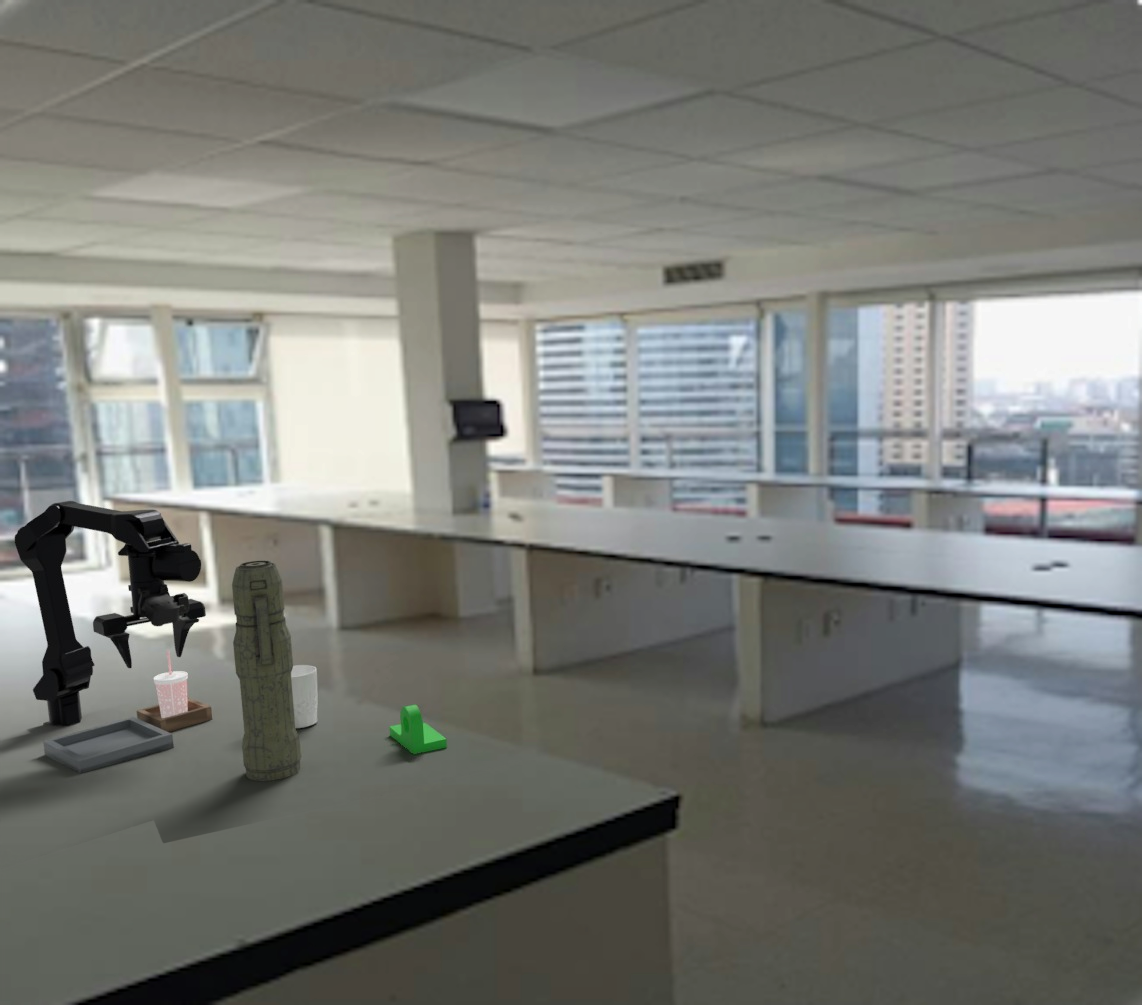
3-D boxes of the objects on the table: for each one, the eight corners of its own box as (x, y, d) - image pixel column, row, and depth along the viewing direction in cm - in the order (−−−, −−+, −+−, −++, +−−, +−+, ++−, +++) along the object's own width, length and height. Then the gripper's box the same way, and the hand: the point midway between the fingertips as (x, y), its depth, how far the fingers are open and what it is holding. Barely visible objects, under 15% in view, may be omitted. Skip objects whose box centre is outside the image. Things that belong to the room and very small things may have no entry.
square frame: (137, 723, 198) (136, 710, 198) (187, 709, 205) (186, 696, 205) (161, 733, 191) (160, 720, 191) (212, 719, 198) (211, 706, 198)
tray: (44, 754, 183) (43, 741, 183) (134, 729, 195) (133, 716, 194) (80, 775, 172) (79, 761, 172) (173, 747, 184) (172, 733, 183)
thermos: (254, 794, 161) (233, 572, 156) (239, 771, 171) (219, 561, 166) (311, 781, 165) (293, 564, 160) (292, 759, 175) (275, 554, 171)
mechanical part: (447, 750, 177) (444, 704, 176) (413, 757, 174) (410, 711, 173) (422, 730, 187) (419, 687, 186) (390, 737, 184) (387, 693, 183)
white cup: (309, 730, 189) (304, 677, 188) (269, 729, 191) (265, 676, 190) (327, 716, 197) (323, 665, 196) (289, 715, 198) (285, 664, 197)
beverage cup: (192, 714, 202) (185, 644, 200) (191, 723, 196) (184, 651, 195) (158, 718, 200) (151, 648, 198) (157, 728, 194) (149, 655, 193)
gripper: (111, 594, 178) (120, 682, 180) (215, 576, 191) (222, 658, 193) (88, 586, 186) (96, 670, 188) (189, 569, 199) (195, 648, 201)
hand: (154, 662), depth 192 cm, fingers open, 9 cm apart
